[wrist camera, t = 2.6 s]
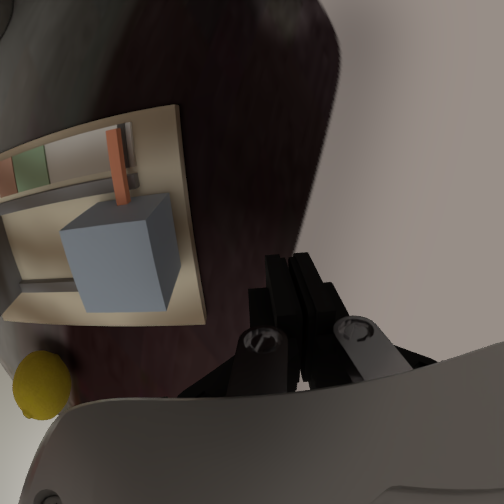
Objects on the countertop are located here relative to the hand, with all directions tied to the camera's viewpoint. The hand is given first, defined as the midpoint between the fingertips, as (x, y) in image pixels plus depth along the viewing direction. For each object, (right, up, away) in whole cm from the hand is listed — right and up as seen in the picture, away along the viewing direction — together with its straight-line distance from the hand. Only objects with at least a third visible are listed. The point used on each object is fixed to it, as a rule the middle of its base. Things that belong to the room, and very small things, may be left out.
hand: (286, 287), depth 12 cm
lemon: (-20, -9, +11) cm, 25 cm away
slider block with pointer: (-8, +4, +4) cm, 10 cm away
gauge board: (-15, +3, +6) cm, 16 cm away
